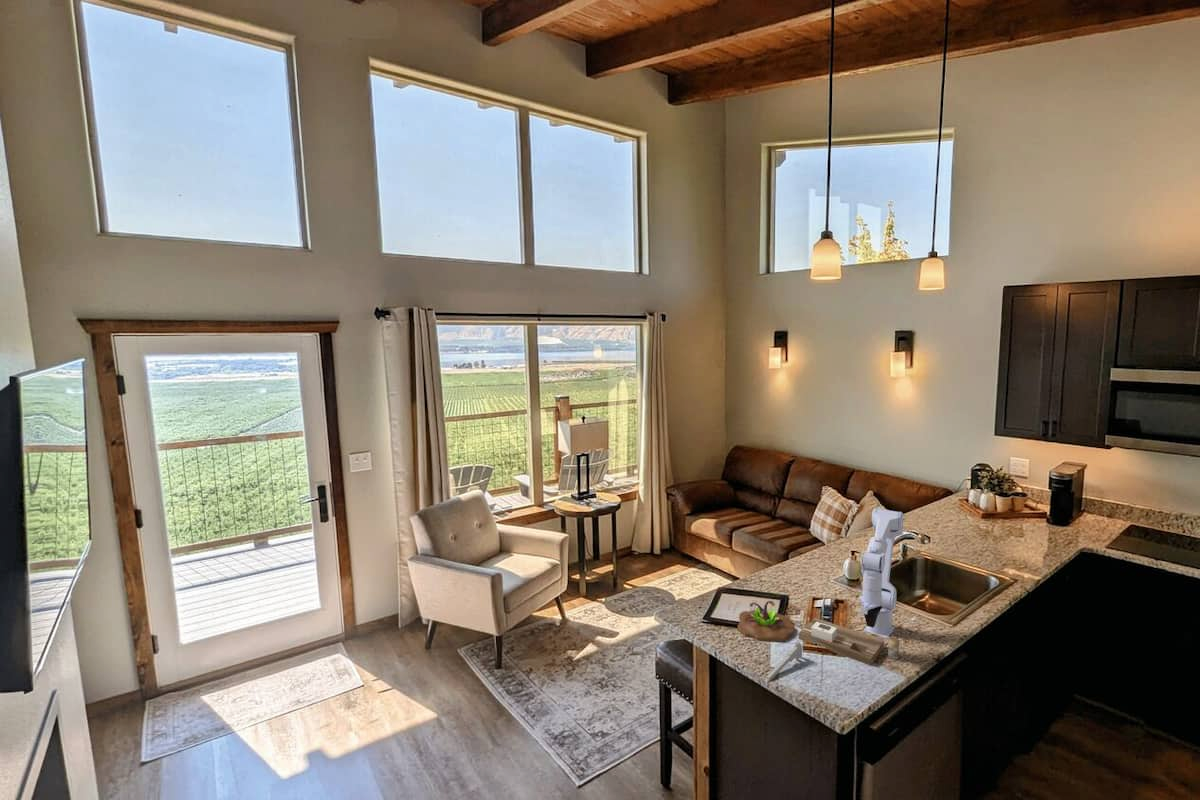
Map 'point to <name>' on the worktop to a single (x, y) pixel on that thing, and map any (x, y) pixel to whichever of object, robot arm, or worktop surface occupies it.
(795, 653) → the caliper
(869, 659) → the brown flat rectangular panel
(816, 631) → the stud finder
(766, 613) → the plant
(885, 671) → the worktop surface
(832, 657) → the worktop surface
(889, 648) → the peg
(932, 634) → the worktop surface
